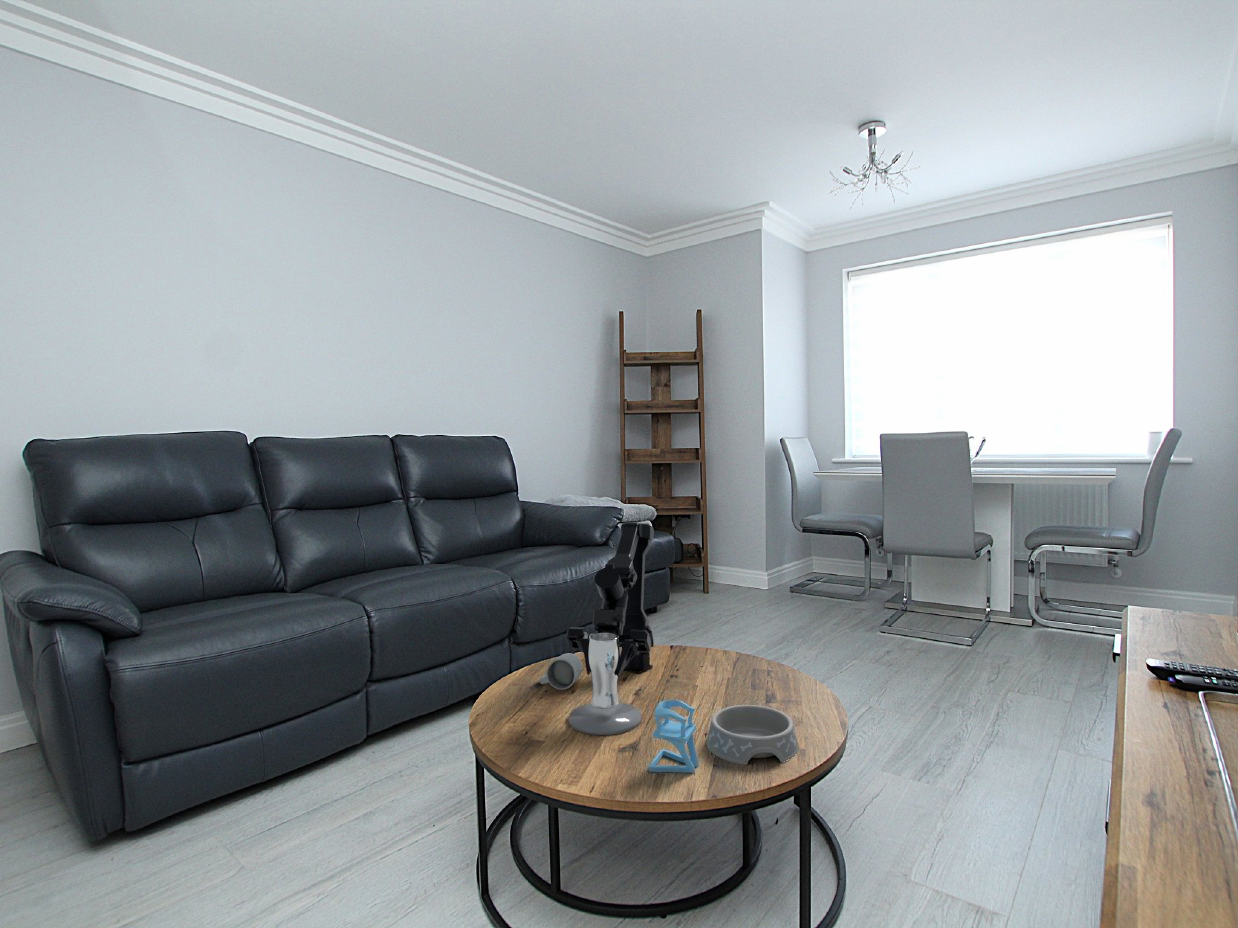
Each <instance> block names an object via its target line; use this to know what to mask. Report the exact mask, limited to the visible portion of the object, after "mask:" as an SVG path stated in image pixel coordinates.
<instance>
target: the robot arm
mask: <svg viewBox="0 0 1238 928" xmlns="http://www.w3.org/2000/svg"><path fill="white" fill-rule="evenodd" d="M654 537H655V530H654V527H653V526H651V525H650V523H647V522H643V523H641V522H638V521H633V522H632V521H631V522H630V521H625V522H623V523H621V525H620V537H619V541H618V544H617V547H616V550H615V554H614V557H612V558H610V559H609V560H607V563H606V564H604V565H605V566H604V568H601V569H599V570H598V571H597V572H596V574H595V575H594V582H595V586H596V589H597V591H598V594H599V596H600V598H601V599H602V603H601V608H600V609H597V608H596V609H593V615H592V625H594V627H593V628H594V631H596V633H600V632H609V633H615V634H617V635H618V636H619V647H620V648H621V651H620V661H619V665H618V668H617V676H618V678H619V677H620V676H621V675H622V673H623V672H624V671H628V672H632V673H635V674H640V673H642V672H645V671H647V670H649V669H651V668H653V667H654V666H653V664H650V663H651V660H650V659H651V658H650V657H651V656H650V652H651V649H652V648H654V646H655V641H654V640H655V639H654V634H653V631H652V628H651V625H650V624H649V621H650V620H649V618H648V616H647V614H646V612H645V610H644V600H645V595H644V593H645V571H646V569H645V568H646V567H645V565H646V555H647V554H648V552H649V551H650V550H651V547H652V541H653V540H654ZM626 589H627V590H626ZM626 591H627V592H626ZM592 634H593V633H590V632H587V630H586V628H585V627H580V626H577V627H576V626H570V627H569V628H568V629H567V630H566V633H565V638H566V641H567V643H568V645H569V646H570V649H573V650H579V651H580V652H581V653H583V655H584V663H585V669H586V674H587V675H588V676H589V675H590V676H591V673H590V667H589V658H588V648H589V636H590V635H592Z"/></svg>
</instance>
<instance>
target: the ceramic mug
mask: <svg viewBox="0 0 1238 928" xmlns="http://www.w3.org/2000/svg"><path fill="white" fill-rule="evenodd" d="M582 671H583V663H582V661H581V659H580V657H579V656H577V655H576V654H574V653H571V652H570V653H567V652H566V653H563V654H561V655H560V656H558V657H556V658H555V659H554V660H553V661H551V662H550V663H549V664H548V666H547V668H546V671H545V672H546V673H545V674H543V675H542V676H540V677H539V679H538V680H539V682H540V685H545V684H549V685H550V686H551V687H552V688H554V689H556V690H559V691H560V690H561V691H563V690H567V689H569V688H571V687H572V686H573V685H574V684H575V683H576V681H577V680H578V679H579V677H580V676H581V675H582Z"/></svg>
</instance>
